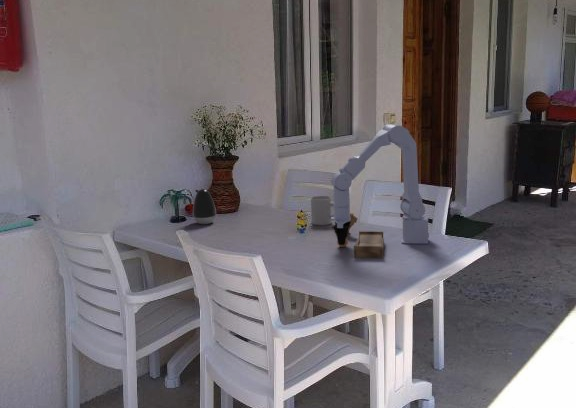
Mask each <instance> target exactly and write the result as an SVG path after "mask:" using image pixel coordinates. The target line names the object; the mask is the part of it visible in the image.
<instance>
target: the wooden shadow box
mask: <svg viewBox="0 0 576 408" xmlns="http://www.w3.org/2000/svg"><path fill="white" fill-rule="evenodd" d="M358 232H359V233H358V234H359V235H358V237H357V238H356V242H355V245H354V244H353V258H360V259H361V258H363V259H364V258H365V259H366V258H367V259H370V258H373V259H378V258H379V259H383V256H384V248H385V238H384V231H378V230H377V231H376V230H375V231H374V230H373V231H372V230H371V231H370V230H369V231H368V230H366V231H363V230H362V231H361V230H360V231H358Z"/></svg>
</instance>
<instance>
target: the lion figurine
mask: <svg viewBox="0 0 576 408" xmlns="http://www.w3.org/2000/svg"><path fill="white" fill-rule="evenodd" d="M350 218H351V220H350V221H351V223H350V225H349V228H348V233H347V236H348V235H349V236H350V235H351V234H352V233H351V232H350V229H352V227H353V226H354V225H355V224H357V222H358V217H356V216H355V215H354V213H353V212H350ZM334 225H336V223H335V222H334ZM331 229H333V226H332V227H331ZM333 230H334V229H333ZM334 233H335V234H336V232H335V231H334Z"/></svg>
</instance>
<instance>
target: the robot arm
mask: <svg viewBox="0 0 576 408" xmlns="http://www.w3.org/2000/svg"><path fill="white" fill-rule="evenodd" d="M392 144H393V145H395V146H397V147H398V148H399V149H401V159H402V160H401V161H402V175H403V177H402V178H403V193H402V195H401V203H400V206H399V207H400V210H401V212H402V236H401V244H413V245H414V244H415V245H417V244H418V245H419V244H420V245H421V244H422V245H424V244H426V245H427V244H429V238H430V233H429V218H428V217H424V215H425V213H426V207H425V204H424V202H423V197H422V196H421V194H420V190H419V171H418V151H417V149H418V148H417V142H416V141H415V140H414V138H413V136H412V135H411V134H410V130H409V129H408V128H405V127H404V126H403V125H398V124H397V125H396V124H394V123H387V124H386V125H385V126H383V127H382V128H381V129H380V130H379V131H378V132H377V133H376V135H375V136H374V137H373V138H372V140H371V141H370V142H369V143H368V144H367V145H366V147H365V148H363V150H362V152H360V154H359V155H356V156H355V155H353V156H352V157H349V158H347V163H346V164H345V165H343V166H342V168H339V169H338V172H335V174H333V176H332V178H331V180H330V183H331V185H332V186H333V203H334V207H333V215H334V217H331V220H332V221H333V222H334V225H333V226H332V227H333V230H334V233H335V232H336V233H335V235H336V239H338V244H339V245H345V241H346V238H347V239H348V234H347V233H348V228H349V225H350V223H351V221H350V220H351V218H350V213H351V204H350V203H351V202H350V200H351V199H350V187H352V182H353V181H354V180H355V179H356V178H357V177H358V175H359V174H360V173H361V172H362V171H364V169H365V168H366V162H367V161H369V159H370V158H371V157H373V155H374V154H376V153H377V151H378V150H380V149H381V148H382V147H386V146H390V145H392ZM335 223H336V225H335ZM338 244H337V245H338ZM339 245H338V246H339Z"/></svg>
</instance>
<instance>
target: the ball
mask: <svg viewBox="0 0 576 408" xmlns="http://www.w3.org/2000/svg"><path fill="white" fill-rule="evenodd" d="M336 239H337V238H336ZM336 244H337V246H339V247H340V248H345V247H346V246H347V245H348V244H349V239H348V237H347V238H346V241H345V245H339V244H338V239H337V240H336Z"/></svg>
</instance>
